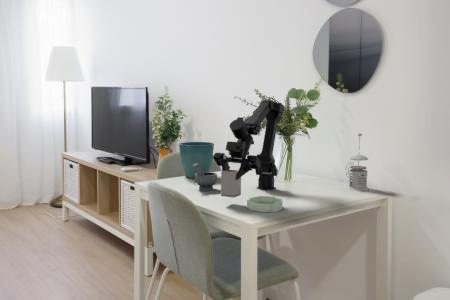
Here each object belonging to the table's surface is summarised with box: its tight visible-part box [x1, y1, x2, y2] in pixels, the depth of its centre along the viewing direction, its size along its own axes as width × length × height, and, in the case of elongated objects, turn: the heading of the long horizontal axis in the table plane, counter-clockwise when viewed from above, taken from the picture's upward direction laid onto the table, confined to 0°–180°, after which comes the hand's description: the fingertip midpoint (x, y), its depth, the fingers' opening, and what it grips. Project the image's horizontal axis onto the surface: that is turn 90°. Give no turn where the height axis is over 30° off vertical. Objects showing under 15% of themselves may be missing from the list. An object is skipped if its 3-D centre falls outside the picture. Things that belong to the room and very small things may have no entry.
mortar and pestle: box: [193, 163, 218, 192], centre depth 202 cm, size 11×9×12 cm
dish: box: [246, 195, 284, 213], centre depth 171 cm, size 13×13×3 cm
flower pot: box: [178, 141, 215, 179], centre depth 233 cm, size 18×18×17 cm
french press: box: [345, 132, 370, 192], centre depth 204 cm, size 10×12×25 cm
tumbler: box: [220, 169, 242, 198], centre depth 175 cm, size 6×6×10 cm
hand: (229, 178), depth 173 cm, fingers closed on tumbler, 6 cm apart
